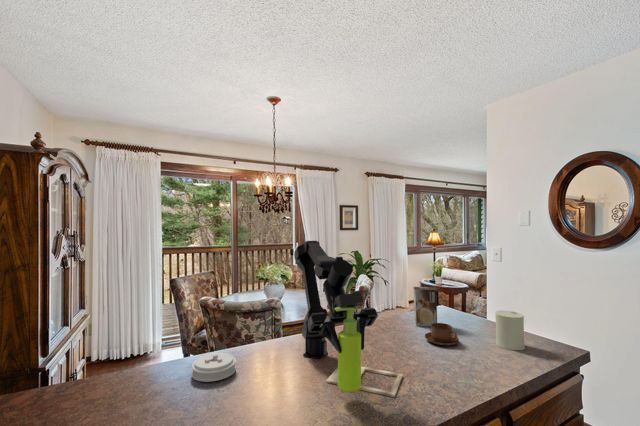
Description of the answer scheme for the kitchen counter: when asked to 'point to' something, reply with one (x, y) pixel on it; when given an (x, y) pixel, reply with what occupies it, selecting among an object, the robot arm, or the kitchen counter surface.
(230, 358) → the lid
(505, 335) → the can
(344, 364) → the soap dispenser
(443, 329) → the cup and saucer
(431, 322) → the coffee box
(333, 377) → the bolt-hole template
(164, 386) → the kitchen counter surface
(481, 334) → the kitchen counter surface
